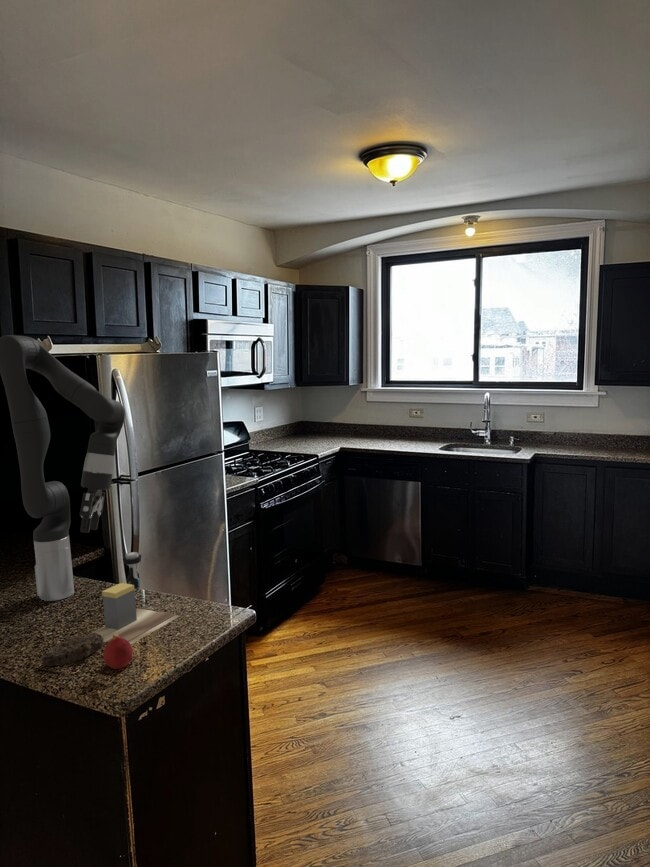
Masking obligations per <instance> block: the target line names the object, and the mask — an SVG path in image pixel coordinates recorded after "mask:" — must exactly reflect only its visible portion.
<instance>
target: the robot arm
mask: <svg viewBox="0 0 650 867" xmlns="http://www.w3.org/2000/svg"><path fill="white" fill-rule="evenodd" d="M27 369H29V370H32V371H34V372H36V373H38V374H40V375H42V376H43V377H44V378H46V379H47V380H48V381H49V383H50V384H51V386H52V387H53V388H54V390H55V391H56V392H57V393H58V394H59V395H60V396H62V397H63V398H64V399H66V400H67V401H69V402H70V403H72V404H73V405H75V406H76V407H78V408H79V409H80V410H81V411H82V412H83V413H85V414H86V416H88V417H89V418H90V419H92V420H94V421H95V422H97V423H98V426H97V430H96V431H95V432H92V433H91V434H90V435H89V440H88V445H87V451H86V452H87V453H86V456H85V459H84V464H83V469H82V476H81V482H80V486H81V487H82V488H86V489H87V492H83V493H82V499H81V504H80V509H79V516H80V517H81V522H80V528H79V532H80V533H83V534H87V533H90V530H91V531H96V530H98V526H99V520H100V516H101V515H102V513H103V510H104V503H105V495H106V493H105V492H104V491H109V490H110V489H111V488H112V487H111V485H112V481H113V480H112V479H113V474H114V473H113V472H114V466H115V454H116V449H117V441H118V439H119V436H120V435H121V432H122V428H123V426H124V424H125V418H126V411H125V407H124V406H123V404H122V403H121V402H120V401H117V400H115V399H112V398H110V397H107V396H105V395H104V394H102V393H101V392H99V391H98V390H97V388H96V387H95V386H93V385H92V384H91V383H90V382H88V381H87V380H85V379H83V378H82V377H80V376H79V375H78V374H76V373H74V372H73V371H71V370H70V369H69V368H68V367H66V366H65V365H64V364H63V363H61V361H59V360H58V359H57V358H56V357H55V356H54V355H53V354H51V353H50V352H49V351H48V350H47V349H46V348H45V347H44V346H43V344H41V343H40V342H39V341H37V340H36V339H35V338H34V337H30V336H26V335H16V334H15V335H14V334H6V335H5V334H4V335H2V336H0V376H1V379H2V383H3V387H4V391H5V395H6V399H7V404H8V409H9V413H10V419H11V420H10V421H11V427H12V432H13V437H14V442H15V444H16V450H17V451H16V452H17V460H18V464H19V473H20V486H21V487H20V488H21V498H22V504H23V507H24V510H25V511H26V513H27V514H28V516H30V517H31V518H33V519H41V518H42V520H41V522H40V523H39V525H38V526H37V527H36V528H34V529H33V531H32V532H33V533H32V536H33V537H32V538H33V545H34V546H33V548H34V554H35V555H34V557H35V565H34V574H35V582H36V583H35V584H36V585H35V586H36V593H37V597H38V596H39V597H38V598H39V600H40V599H41V600H40V601H42V600H44V601H43V602H54V601H60V600H63V599H66V598H69V597H71V596H73V595H74V594H75V587H74V585H75V584H74V574H73V564H72V553H71V543H70V542H71V541H70V534H69V533H70V532H69V530H70V526H71V522H72V520H71V502H70V501H71V500H70V495H69V492H68V488H67V487H66V485H64V484H63V483H62V482H60V481H59V480H58V481H57V480H52V481H45V480H46V479H45V475H44V473H45V472H44V462H45V458H46V455H47V452H48V449H49V445H50V442H51V428H50V423H49V419H48V413H47V411H46V409H45V408H44V405H43V404H42V402H41V401H40V400H39V398H38V397H37V396H36V394H35V393H34V391H33V390H32V387H31V385H30V384H29V381H28V380H29V379H28V377H27Z"/></svg>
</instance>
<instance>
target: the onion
mask: <svg viewBox="0 0 650 867" xmlns="http://www.w3.org/2000/svg"><path fill="white" fill-rule="evenodd" d="M102 654H103V655H102V656H103V662H104V663H105V665H107V666H108V667H109V668H111V669H113V670H119V669H124V668H125V667H127V666H128V665H129V664H130V663H131V661H132V659H133V646H132V644H130V643H129V642H128V641H127V640H126V639H124V638H122V637H120V636H118V635H116V634H115V635H113V639H112V640H111V641H110V642H109V643H107V644H106V645H105V647H104V648H103V653H102Z"/></svg>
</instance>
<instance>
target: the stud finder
mask: <svg viewBox="0 0 650 867" xmlns="http://www.w3.org/2000/svg"><path fill="white" fill-rule="evenodd" d="M135 590H136V589H135V588H134V585H131V584H129V583H123V582H120V583H118V584H115V585H113V586H111V587H108V588H107V589H105V590H102V591H101V596H102V602H103V603H102V604H103V615H104V616H103V617H104V626H105V627H107V628H112V629H116V630H119V629H121V628H123V627H125V626H127V625H129V624H131V623H133V622H134V621H136V620H137V616H136V610H137V607H136V606H137V605H136V594H135Z"/></svg>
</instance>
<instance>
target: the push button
mask: <svg viewBox="0 0 650 867" xmlns="http://www.w3.org/2000/svg"><path fill="white" fill-rule="evenodd" d="M122 561H123V564H124V565H126V566H128V568H129V571H128V574H127V577H126V581H127V582H126V583H127V584H131V585H134V589H135V588H136V589H139V588H141V578H140V573H139V571H138V570H137V569H138V568H137V565H138V564H139V563H141V561H142V554H139V553H138V552H137V551H132V552H131V551H130V552H127V553H125V556H123V557H122Z"/></svg>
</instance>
